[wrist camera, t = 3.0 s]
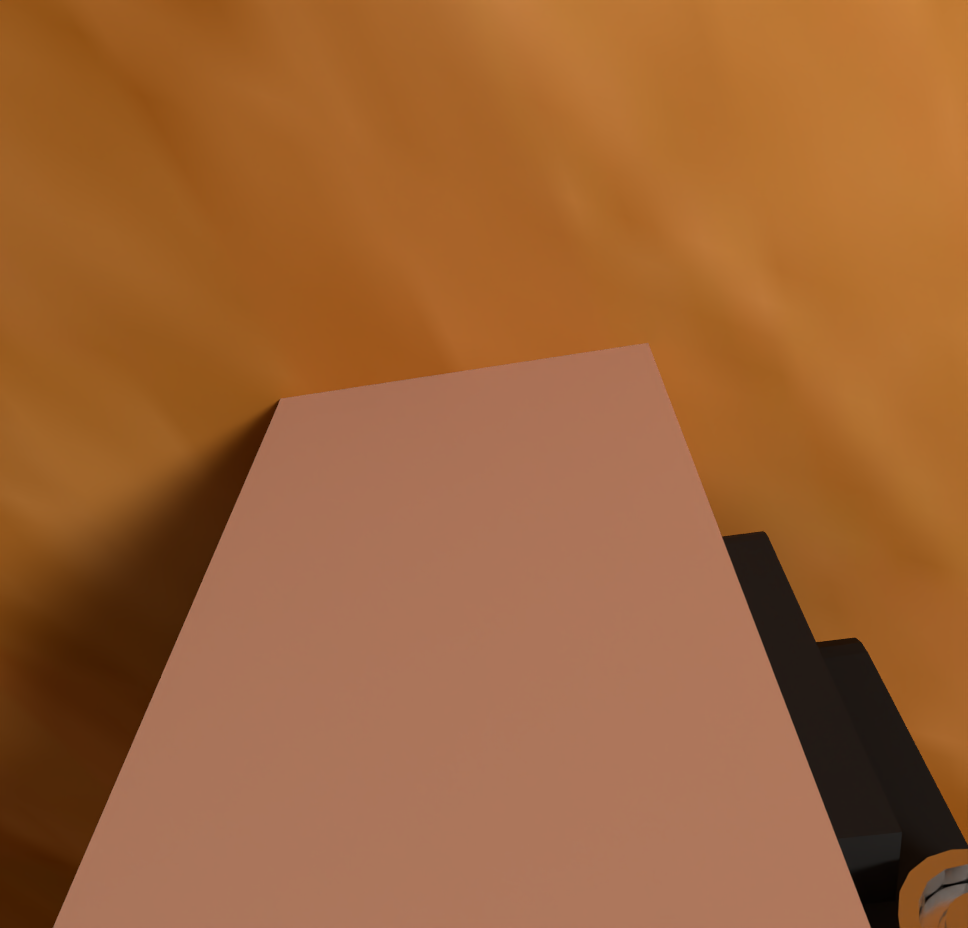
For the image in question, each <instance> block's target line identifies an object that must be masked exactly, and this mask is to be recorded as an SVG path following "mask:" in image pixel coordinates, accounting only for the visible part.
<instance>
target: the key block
mask: <svg viewBox="0 0 968 928" xmlns="http://www.w3.org/2000/svg"><path fill="white" fill-rule="evenodd" d="M53 928H871V927H870V924H869V922H868V919H867V916H866V914H865V911H864V909H863V906H862V903H861V901H860V898H859V895H858V893H857V890H856V888H855V885H854V882H853V880H852V877H851V874H850V872H849V869H848V867H847V864H846V861H845V859H844V856H843V853H842V851H841V848H840V846H839V843H838V840H837V838H836V835H835V832H834V830H833V827H832V825H831V822H830V819H829V817H828V814H827V811H826V809H825V806H824V804H823V801H822V798H821V796H820V793H819V790H818V788H817V785H816V783H815V780H814V777H813V775H812V772H811V769H810V767H809V764H808V762H807V759H806V756H805V754H804V751H803V748H802V746H801V743H800V741H799V738H798V735H797V733H796V730H795V727H794V725H793V722H792V720H791V717H790V714H789V712H788V709H787V706H786V704H785V701H784V699H783V696H782V693H781V691H780V688H779V685H778V683H777V680H776V678H775V675H774V672H773V670H772V667H771V664H770V662H769V659H768V657H767V654H766V651H765V649H764V646H763V643H762V641H761V638H760V636H759V633H758V630H757V628H756V625H755V622H754V620H753V617H752V615H751V612H750V609H749V607H748V604H747V601H746V599H745V596H744V594H743V591H742V588H741V586H740V583H739V581H738V578H737V575H736V573H735V570H734V567H733V565H732V562H731V560H730V557H729V554H728V552H727V549H726V546H725V544H724V541H723V539H722V536H721V533H720V531H719V528H718V525H717V523H716V520H715V518H714V515H713V512H712V510H711V507H710V504H709V502H708V499H707V497H706V494H705V491H704V489H703V486H702V483H701V481H700V478H699V476H698V473H697V470H696V468H695V465H694V462H693V460H692V457H691V455H690V452H689V449H688V447H687V444H686V441H685V439H684V436H683V434H682V431H681V428H680V426H679V423H678V420H677V418H676V415H675V413H674V410H673V407H672V405H671V402H670V399H669V397H668V394H667V392H666V389H665V386H664V384H663V381H662V378H661V376H660V373H659V371H658V368H657V365H656V363H655V360H654V357H653V355H652V352H651V350H650V347H649V344H648V343H645V344H638V345H632V346H625V347H619V348H612V349H605V350H599V351H592V352H586V353H579V354H573V355H566V356H559V357H553V358H546V359H540V360H533V361H526V362H520V363H513V364H507V365H500V366H494V367H487V368H480V369H474V370H467V371H461V372H454V373H447V374H441V375H434V376H428V377H421V378H415V379H408V380H401V381H395V382H388V383H382V384H375V385H368V386H362V387H355V388H349V389H342V390H336V391H329V392H322V393H316V394H309V395H303V396H296V397H289V398H283V399H280V401H279V404H278V406H277V408H276V411H275V413H274V415H273V418H272V420H271V422H270V425H269V427H268V429H267V432H266V434H265V436H264V439H263V441H262V443H261V446H260V448H259V450H258V453H257V455H256V457H255V460H254V462H253V464H252V467H251V469H250V471H249V473H248V476H247V478H246V480H245V483H244V485H243V487H242V490H241V492H240V494H239V497H238V499H237V501H236V504H235V506H234V508H233V511H232V513H231V515H230V518H229V520H228V522H227V525H226V527H225V529H224V532H223V534H222V536H221V539H220V541H219V543H218V546H217V548H216V550H215V552H214V555H213V557H212V559H211V562H210V564H209V566H208V569H207V571H206V573H205V576H204V578H203V580H202V583H201V585H200V587H199V590H198V592H197V594H196V597H195V599H194V601H193V604H192V606H191V608H190V611H189V613H188V615H187V618H186V620H185V622H184V624H183V627H182V629H181V631H180V634H179V636H178V638H177V641H176V643H175V645H174V648H173V650H172V652H171V655H170V657H169V659H168V662H167V664H166V666H165V669H164V671H163V673H162V676H161V678H160V680H159V683H158V685H157V687H156V690H155V692H154V694H153V697H152V699H151V701H150V703H149V706H148V708H147V710H146V713H145V715H144V717H143V720H142V722H141V724H140V727H139V729H138V731H137V734H136V736H135V738H134V741H133V743H132V745H131V748H130V750H129V752H128V755H127V757H126V759H125V762H124V764H123V766H122V769H121V771H120V773H119V776H118V778H117V780H116V782H115V785H114V787H113V789H112V792H111V794H110V796H109V799H108V801H107V803H106V806H105V808H104V810H103V813H102V815H101V817H100V820H99V822H98V824H97V827H96V829H95V831H94V834H93V836H92V838H91V841H90V843H89V845H88V848H87V850H86V852H85V855H84V857H83V859H82V861H81V864H80V866H79V868H78V871H77V873H76V875H75V878H74V880H73V882H72V885H71V887H70V889H69V892H68V894H67V896H66V899H65V901H64V903H63V906H62V908H61V910H60V913H59V915H58V917H57V920H56V922H55V924H54V927H53Z"/></svg>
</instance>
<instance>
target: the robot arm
mask: <svg viewBox="0 0 968 928" xmlns="http://www.w3.org/2000/svg"><path fill="white" fill-rule="evenodd" d="M722 539H723V541H724V544H725V546H726V549H727V552H728V554H729V557H730V560H731V562H732V565H733V567H734V570H735V573H736V575H737V578H738V581H739V583H740V586H741V588H742V591H743V594H744V596H745V599H746V601H747V604H748V607H749V609H750V612H751V615H752V617H753V620H754V622H755V625H756V628H757V630H758V633H759V636H760V638H761V641H762V643H763V646H764V649H765V651H766V654H767V657H768V659H769V662H770V664H771V667H772V670H773V672H774V675H775V678H776V680H777V683H778V685H779V688H780V691H781V693H782V696H783V699H784V701H785V704H786V706H787V709H788V712H789V714H790V717H791V720H792V722H793V725H794V727H795V730H796V733H797V735H798V738H799V741H800V743H801V746H802V748H803V751H804V754H805V756H806V759H807V762H808V764H809V767H810V769H811V772H812V775H813V777H814V780H815V783H816V785H817V788H818V790H819V793H820V796H821V798H822V801H823V804H824V806H825V809H826V811H827V814H828V817H829V819H830V822H831V825H832V827H833V830H834V832H835V835H836V838H837V840H838V843H839V846H840V848H841V851H842V853H843V856H844V859H845V861H846V864H847V867H848V869H849V872H850V874H851V877H852V880H853V882H854V885H855V888H856V890H857V893H858V895H859V898H860V901H861V903H862V906H863V909H864V911H865V914H866V916H867V919H868V922H869V924H870V927H871V928H968V845H967V843H966V841H965V839H964V837H963V835H962V833H961V831H960V829H959V828H958V826H957V824H956V822H955V820H954V818H953V816H952V814H951V812H950V810H949V808H948V806H947V804H946V802H945V801H944V799H943V797H942V795H941V793H940V791H939V789H938V787H937V785H936V783H935V781H934V779H933V777H932V775H931V774H930V772H929V770H928V768H927V766H926V764H925V762H924V760H923V758H922V756H921V754H920V752H919V750H918V748H917V747H916V745H915V743H914V741H913V739H912V737H911V735H910V733H909V731H908V729H907V727H906V725H905V723H904V721H903V720H902V718H901V716H900V714H899V712H898V710H897V708H896V706H895V704H894V702H893V700H892V698H891V696H890V694H889V693H888V691H887V689H886V687H885V685H884V683H883V681H882V679H881V677H880V675H879V673H878V671H877V669H876V667H875V665H874V664H873V662H872V660H871V658H870V656H869V654H868V652H867V651H866V649H865V647H864V646H863V644H862V643H861V642H860V641H859V640H858V639H856V638H848V639H840V640H832V641H824V642H816V641H815V639H814V637H813V635H812V633H811V630H810V628H809V626H808V624H807V622H806V619H805V617H804V615H803V613H802V611H801V608H800V606H799V604H798V602H797V600H796V597H795V595H794V593H793V591H792V589H791V586H790V584H789V582H788V580H787V577H786V575H785V573H784V571H783V569H782V566H781V564H780V562H779V560H778V558H777V555H776V553H775V551H774V549H773V547H772V544H771V542H770V540H769V538H768V536H767V534H766V533H765V532H763V531H762V532H754V533H747V534H739V535H731V536H724V537H722Z"/></svg>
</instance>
